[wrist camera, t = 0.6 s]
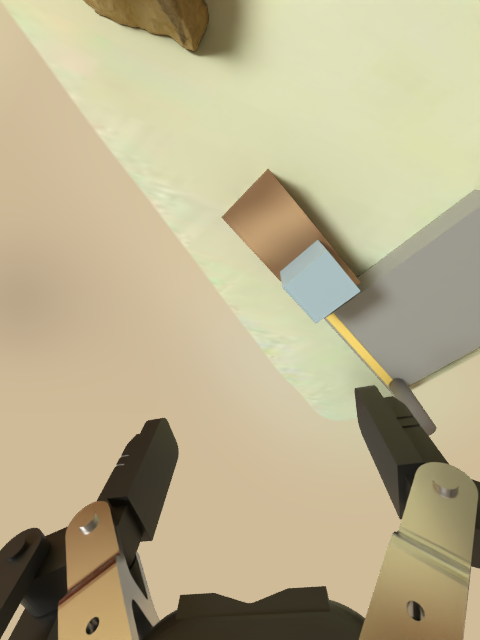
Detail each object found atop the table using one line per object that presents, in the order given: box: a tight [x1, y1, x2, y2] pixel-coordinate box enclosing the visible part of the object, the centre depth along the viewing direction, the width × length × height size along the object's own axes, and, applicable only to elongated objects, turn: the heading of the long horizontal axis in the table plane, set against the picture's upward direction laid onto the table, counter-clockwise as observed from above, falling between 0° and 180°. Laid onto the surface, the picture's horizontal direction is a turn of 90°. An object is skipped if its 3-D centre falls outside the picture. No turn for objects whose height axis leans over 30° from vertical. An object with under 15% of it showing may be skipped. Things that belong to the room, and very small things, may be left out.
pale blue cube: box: [280, 240, 360, 323], centre depth 23 cm, size 4×4×4 cm
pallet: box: [222, 169, 361, 286], centre depth 25 cm, size 12×5×4 cm, turn 44°
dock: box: [324, 190, 480, 436], centre depth 24 cm, size 16×12×9 cm
